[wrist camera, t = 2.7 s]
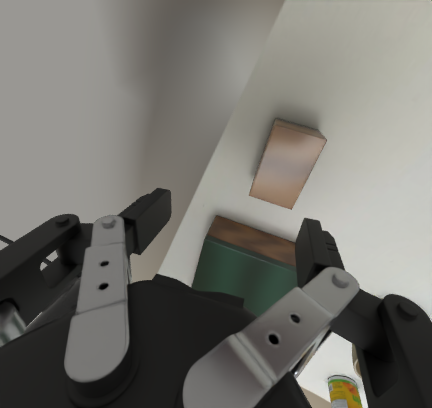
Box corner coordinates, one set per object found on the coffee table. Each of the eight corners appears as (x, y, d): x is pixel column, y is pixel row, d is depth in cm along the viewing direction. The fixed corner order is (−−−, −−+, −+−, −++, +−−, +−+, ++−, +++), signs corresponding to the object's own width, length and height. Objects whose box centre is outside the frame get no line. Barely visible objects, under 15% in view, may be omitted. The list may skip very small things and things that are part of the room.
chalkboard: (189, 310, 47) (178, 337, 41) (216, 215, 33) (204, 238, 28) (250, 335, 45) (247, 366, 40) (305, 246, 31) (310, 277, 26)
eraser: (290, 191, 28) (291, 210, 24) (253, 179, 29) (248, 195, 24) (319, 130, 24) (327, 139, 20) (275, 117, 24) (274, 124, 20)
